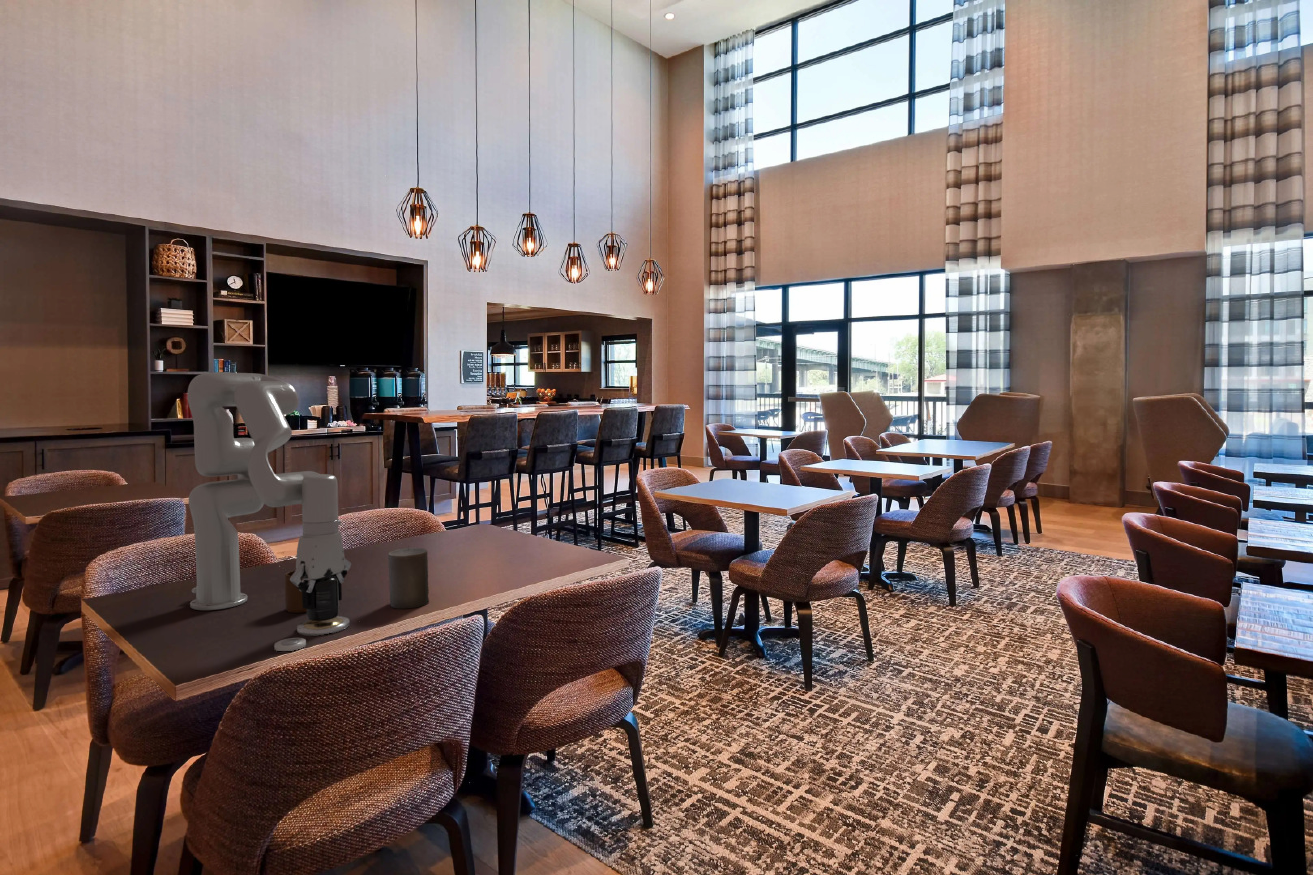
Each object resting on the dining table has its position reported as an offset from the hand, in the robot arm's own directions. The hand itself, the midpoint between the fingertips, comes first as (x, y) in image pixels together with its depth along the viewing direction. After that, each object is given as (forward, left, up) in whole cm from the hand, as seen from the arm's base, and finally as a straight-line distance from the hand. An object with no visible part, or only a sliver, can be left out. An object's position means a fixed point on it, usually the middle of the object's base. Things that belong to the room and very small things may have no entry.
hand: (322, 603), depth 166 cm
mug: (-16, +10, -6) cm, 20 cm away
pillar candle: (+4, +23, -6) cm, 24 cm away
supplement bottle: (0, 0, -3) cm, 3 cm away
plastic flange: (+4, -12, -6) cm, 14 cm away
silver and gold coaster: (0, 0, -6) cm, 6 cm away
